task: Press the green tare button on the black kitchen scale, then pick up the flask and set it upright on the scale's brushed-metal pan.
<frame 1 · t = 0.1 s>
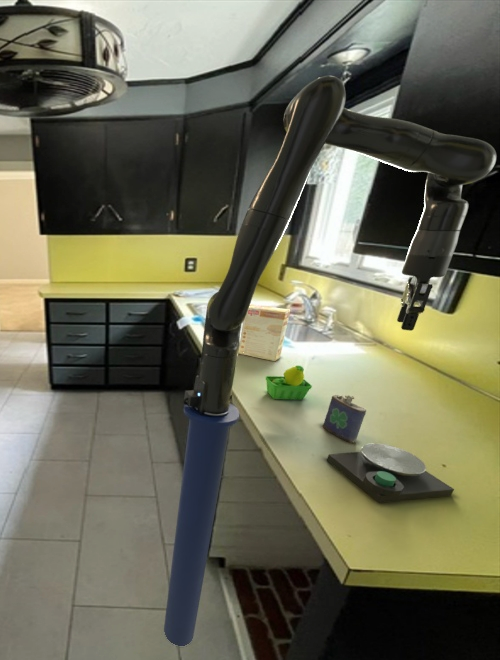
hand: (404, 325, 85), 27 cm above the worktop, tool pointing down, fingers open, 8 cm apart
scale: (384, 476, 76), on the worktop
scale pan: (391, 458, 77), on the scale, point 3 cm above the worktop
tare button: (385, 479, 70), point 3 cm above the worktop, slide at 0.2 cm
fruit basket: (285, 397, 112), on the worktop
coffeecake box: (258, 355, 148), on the worktop
flask: (337, 434, 92), on the worktop
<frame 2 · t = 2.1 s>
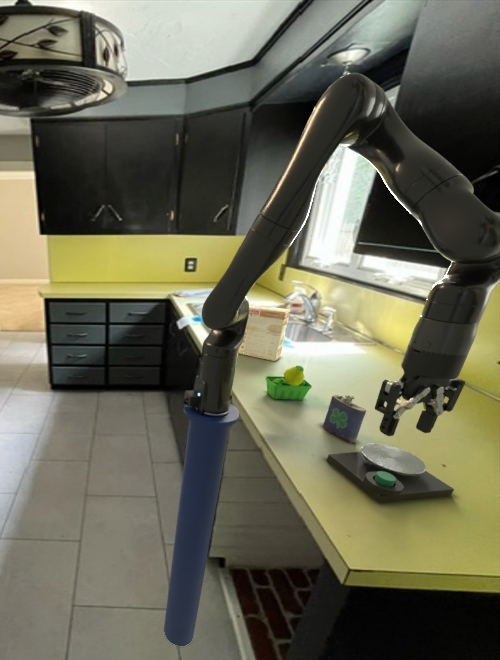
hand: (404, 432, 66), 14 cm above the worktop, tool pointing down, fingers open, 7 cm apart
nothing on the worktop moved.
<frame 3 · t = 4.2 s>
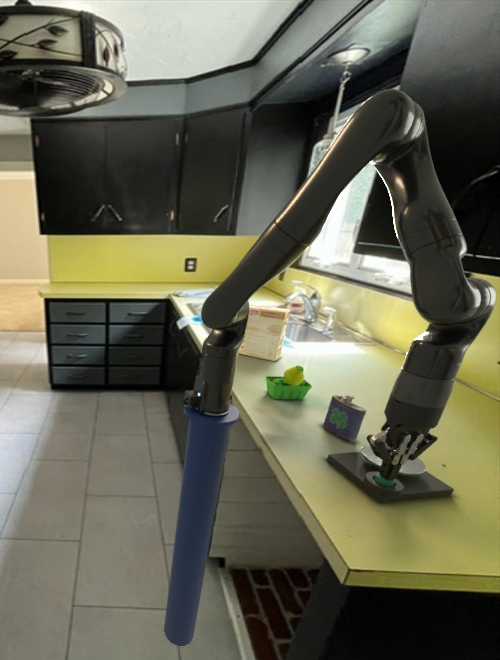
hand: (386, 477, 70), 4 cm above the worktop, tool pointing down, fingers closed
tare button: (384, 480, 70), point 3 cm above the worktop, slide at -0.1 cm, touching gripper
everything else where it was.
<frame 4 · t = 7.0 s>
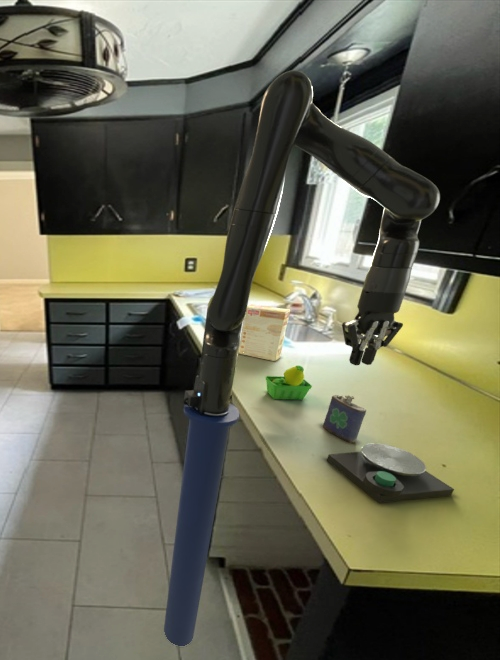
hand: (360, 363, 85), 19 cm above the worktop, tool pointing down, fingers closed
tare button: (384, 479, 70), point 3 cm above the worktop, slide at 0.1 cm
everything else where it was.
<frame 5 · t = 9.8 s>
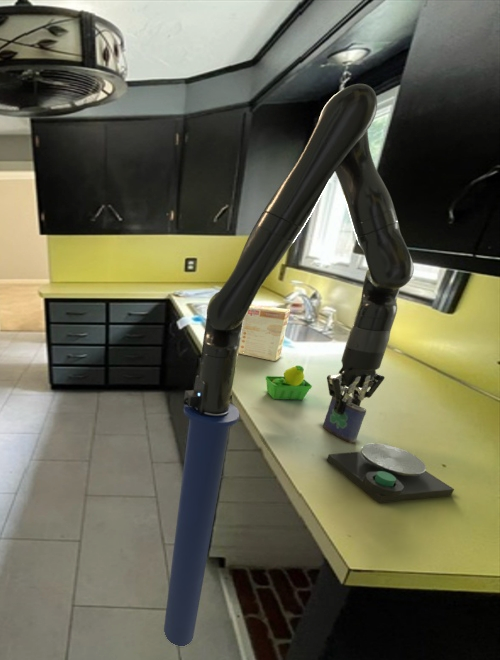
hand: (344, 412, 90), 6 cm above the worktop, tool pointing down, fingers closed on flask, 3 cm apart
flask: (337, 434, 92), on the worktop, touching gripper
everything else where it was.
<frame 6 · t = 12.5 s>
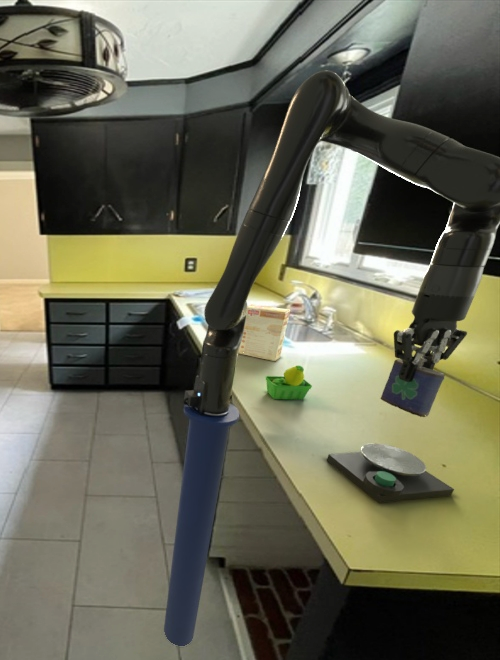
hand: (412, 379, 72), 21 cm above the worktop, tool pointing down, fingers closed on flask, 3 cm apart
flask: (401, 407, 74), point 14 cm above the worktop, touching gripper
everything else where it was.
when the fingers open (10 cm above the worktop, at t = 15.3 s): flask stays where it is, resting on scale pan.
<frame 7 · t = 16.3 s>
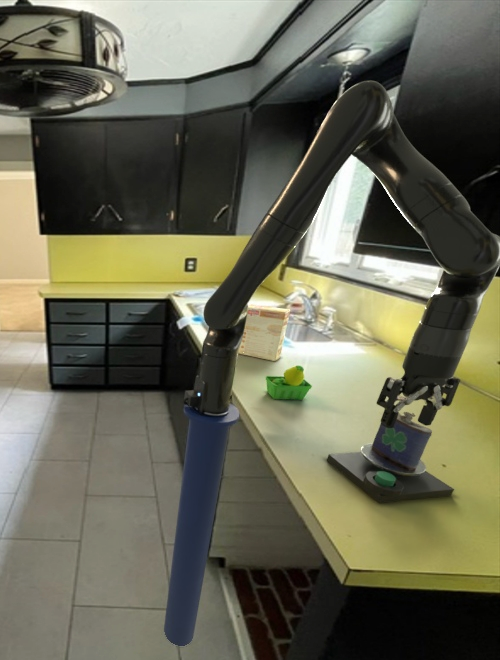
hand: (405, 425, 73), 11 cm above the worktop, tool pointing down, fingers open, 8 cm apart
flask: (391, 458, 77), point 3 cm above the worktop, touching scale pan
everything else where it was.
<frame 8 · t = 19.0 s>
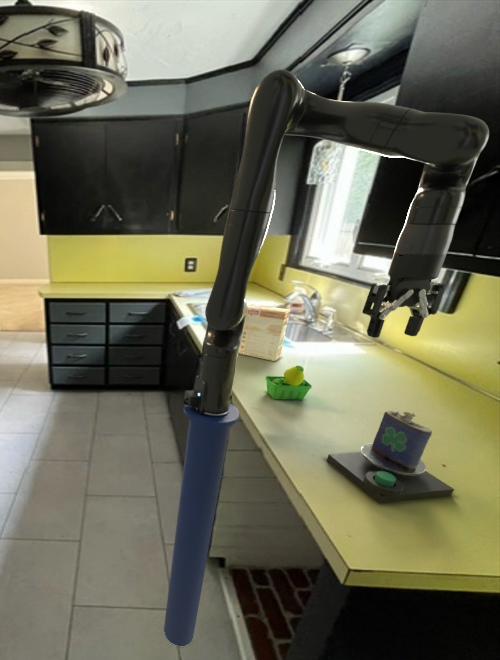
hand: (391, 336, 73), 28 cm above the worktop, tool pointing down, fingers open, 8 cm apart
nothing on the worktop moved.
at the end: tare button pushed in 0.7 cm at the most during the clip, back to where it started at the end; flask inside the target area on the scale (0.1 cm from its centre), point 3.4 cm above the scale's base; flask tilted 0° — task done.
